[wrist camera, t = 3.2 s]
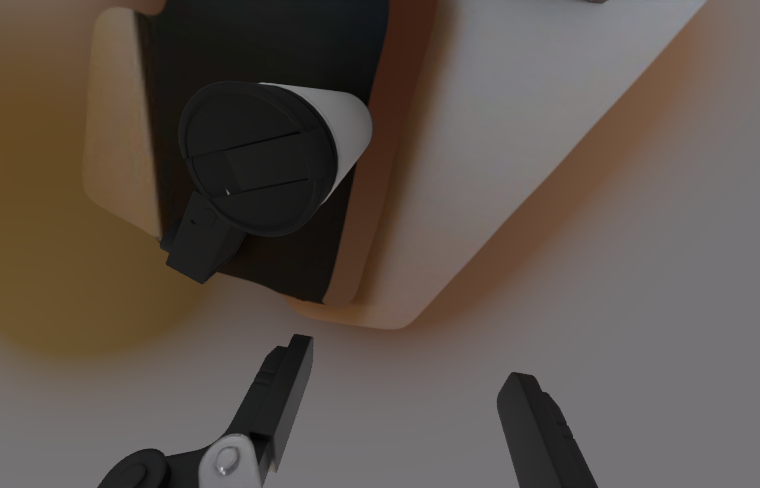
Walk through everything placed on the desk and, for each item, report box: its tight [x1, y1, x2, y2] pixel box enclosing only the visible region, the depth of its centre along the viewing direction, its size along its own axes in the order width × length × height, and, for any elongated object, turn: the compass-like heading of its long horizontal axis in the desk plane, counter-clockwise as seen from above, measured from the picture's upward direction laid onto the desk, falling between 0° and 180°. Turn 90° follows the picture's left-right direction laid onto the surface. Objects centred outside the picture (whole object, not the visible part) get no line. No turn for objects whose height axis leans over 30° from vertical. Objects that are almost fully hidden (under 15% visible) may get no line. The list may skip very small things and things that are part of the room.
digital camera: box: [160, 189, 247, 284], centre depth 31 cm, size 10×5×7 cm, turn 144°
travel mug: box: [178, 81, 373, 237], centre depth 19 cm, size 6×7×20 cm
